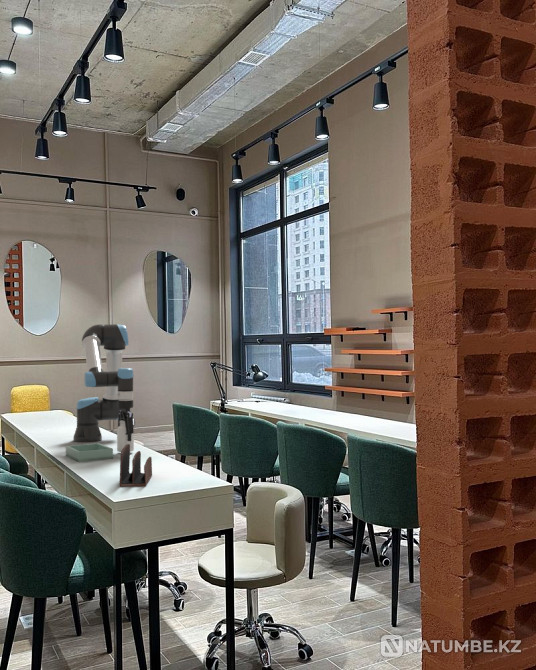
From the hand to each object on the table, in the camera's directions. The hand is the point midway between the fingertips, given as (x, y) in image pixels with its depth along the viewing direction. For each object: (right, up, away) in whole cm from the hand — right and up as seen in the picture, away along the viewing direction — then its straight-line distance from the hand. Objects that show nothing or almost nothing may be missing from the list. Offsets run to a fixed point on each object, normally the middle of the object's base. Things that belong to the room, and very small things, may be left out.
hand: (125, 446), depth 317 cm
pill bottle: (0, -2, 0) cm, 2 cm away
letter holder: (+18, -3, -63) cm, 66 cm away
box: (-15, -3, -10) cm, 18 cm away
